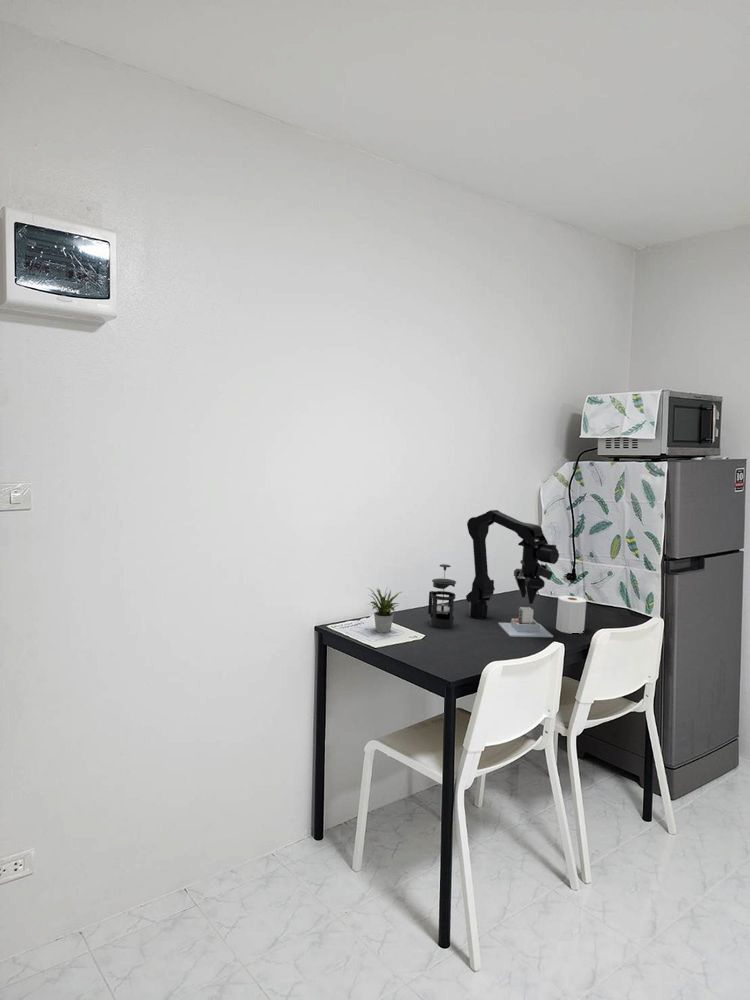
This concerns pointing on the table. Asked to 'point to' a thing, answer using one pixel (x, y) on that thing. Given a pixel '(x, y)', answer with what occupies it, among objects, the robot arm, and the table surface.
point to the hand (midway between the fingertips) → (527, 600)
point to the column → (525, 615)
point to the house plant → (383, 611)
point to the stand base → (524, 629)
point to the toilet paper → (571, 614)
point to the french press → (439, 618)
